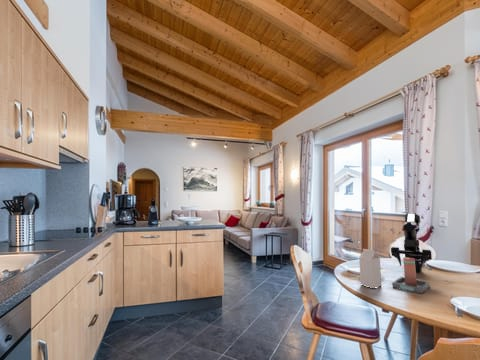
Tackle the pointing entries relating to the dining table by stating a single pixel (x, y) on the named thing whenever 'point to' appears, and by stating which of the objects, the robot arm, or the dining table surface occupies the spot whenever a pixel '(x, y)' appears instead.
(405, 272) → the cartridge
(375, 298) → the dining table surface
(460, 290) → the dining table surface
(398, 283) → the parts tray
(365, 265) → the milk carton
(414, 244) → the robot arm
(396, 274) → the dining table surface
